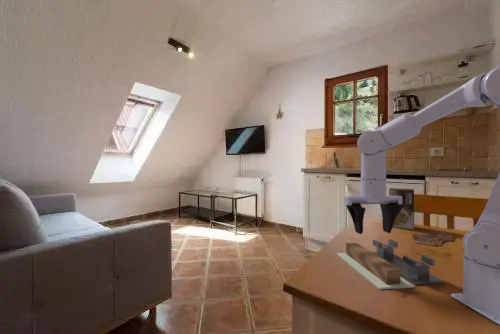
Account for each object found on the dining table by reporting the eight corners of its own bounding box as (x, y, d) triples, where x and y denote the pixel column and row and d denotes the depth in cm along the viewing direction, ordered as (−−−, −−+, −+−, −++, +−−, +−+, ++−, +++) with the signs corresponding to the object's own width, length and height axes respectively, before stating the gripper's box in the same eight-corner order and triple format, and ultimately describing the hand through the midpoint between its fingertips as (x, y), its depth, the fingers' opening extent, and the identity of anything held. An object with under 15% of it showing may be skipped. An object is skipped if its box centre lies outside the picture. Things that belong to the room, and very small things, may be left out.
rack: (443, 283, 54) (443, 262, 54) (414, 284, 54) (414, 263, 54) (389, 253, 72) (389, 237, 72) (367, 254, 72) (367, 238, 72)
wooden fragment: (436, 249, 76) (436, 246, 76) (399, 240, 86) (399, 237, 86) (465, 236, 90) (465, 233, 90) (431, 229, 99) (431, 227, 99)
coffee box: (413, 226, 103) (414, 188, 103) (414, 230, 98) (414, 190, 97) (389, 223, 108) (389, 187, 108) (388, 226, 102) (388, 188, 102)
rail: (400, 283, 53) (400, 269, 53) (386, 284, 53) (387, 270, 53) (356, 253, 71) (356, 242, 71) (346, 253, 71) (346, 243, 71)
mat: (413, 287, 53) (413, 285, 53) (379, 289, 52) (379, 287, 52) (362, 253, 73) (362, 251, 73) (336, 254, 72) (336, 252, 72)
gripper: (389, 178, 66) (388, 227, 67) (338, 178, 65) (338, 229, 65) (408, 179, 59) (408, 234, 59) (352, 180, 58) (352, 236, 58)
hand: (373, 232), depth 62 cm, fingers open, 7 cm apart
